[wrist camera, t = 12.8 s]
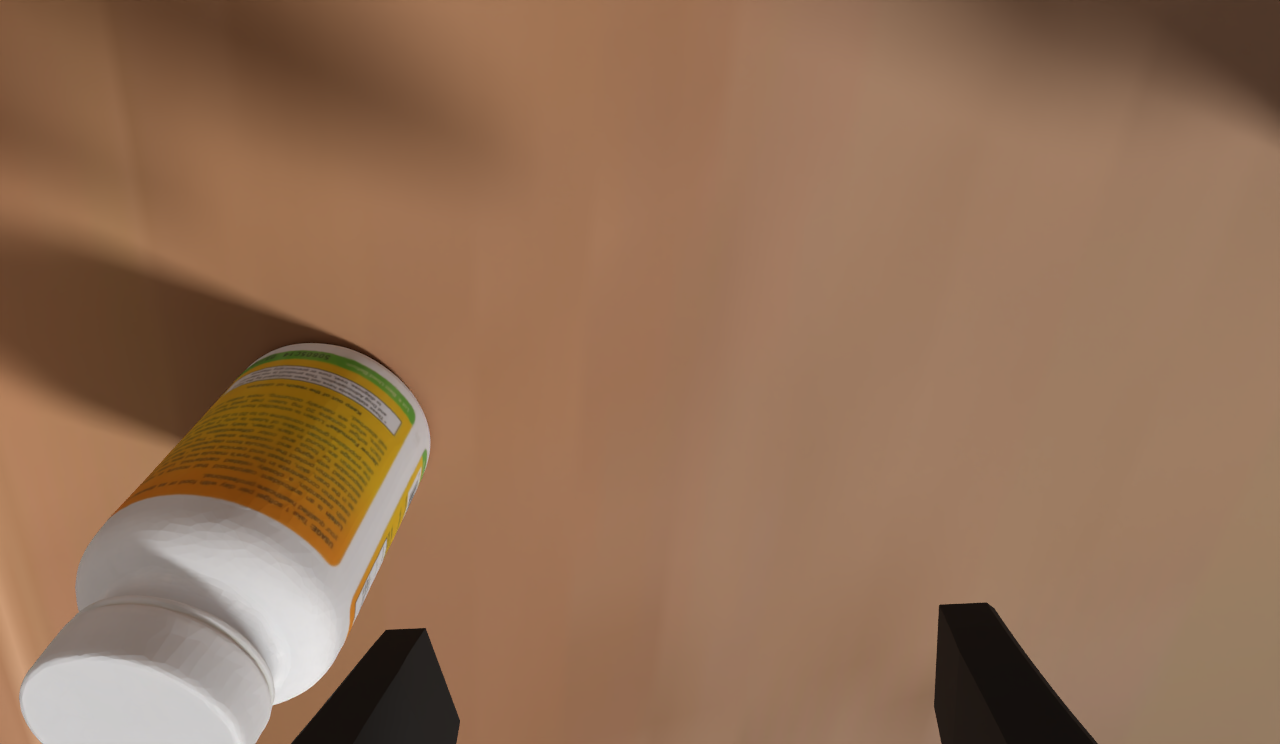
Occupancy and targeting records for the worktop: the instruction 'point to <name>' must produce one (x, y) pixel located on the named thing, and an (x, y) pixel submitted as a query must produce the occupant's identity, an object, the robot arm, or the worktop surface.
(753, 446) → the worktop surface
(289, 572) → the supplement bottle
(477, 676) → the worktop surface
